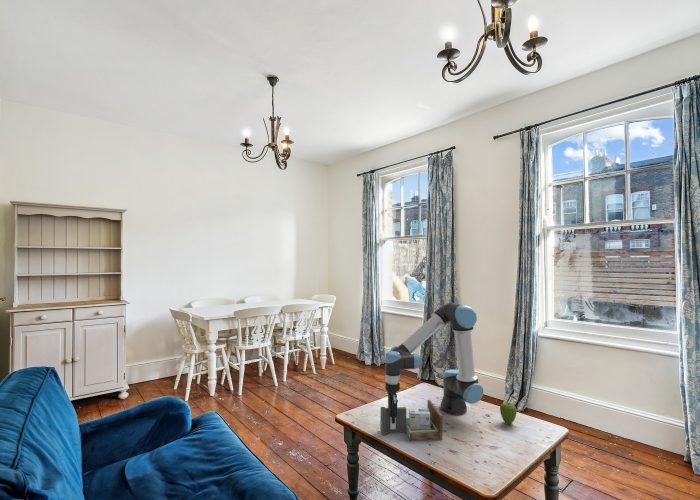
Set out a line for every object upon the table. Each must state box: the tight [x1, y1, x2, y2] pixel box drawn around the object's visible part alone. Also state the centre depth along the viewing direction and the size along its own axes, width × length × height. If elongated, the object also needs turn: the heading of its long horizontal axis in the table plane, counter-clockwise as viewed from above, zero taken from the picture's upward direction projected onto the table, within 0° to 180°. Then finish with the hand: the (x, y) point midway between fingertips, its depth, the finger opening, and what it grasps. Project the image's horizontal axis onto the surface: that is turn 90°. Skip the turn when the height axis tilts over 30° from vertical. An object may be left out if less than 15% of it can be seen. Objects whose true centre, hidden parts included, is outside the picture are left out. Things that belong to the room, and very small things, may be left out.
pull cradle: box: [379, 406, 438, 439], centre depth 189 cm, size 28×16×12 cm, turn 96°
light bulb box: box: [408, 407, 431, 431], centre depth 189 cm, size 11×7×11 cm, turn 84°
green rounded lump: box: [499, 401, 518, 425], centre depth 198 cm, size 9×8×12 cm
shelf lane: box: [409, 399, 444, 442], centre depth 189 cm, size 16×20×12 cm
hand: (392, 427), depth 188 cm, fingers closed on pull cradle, 2 cm apart
